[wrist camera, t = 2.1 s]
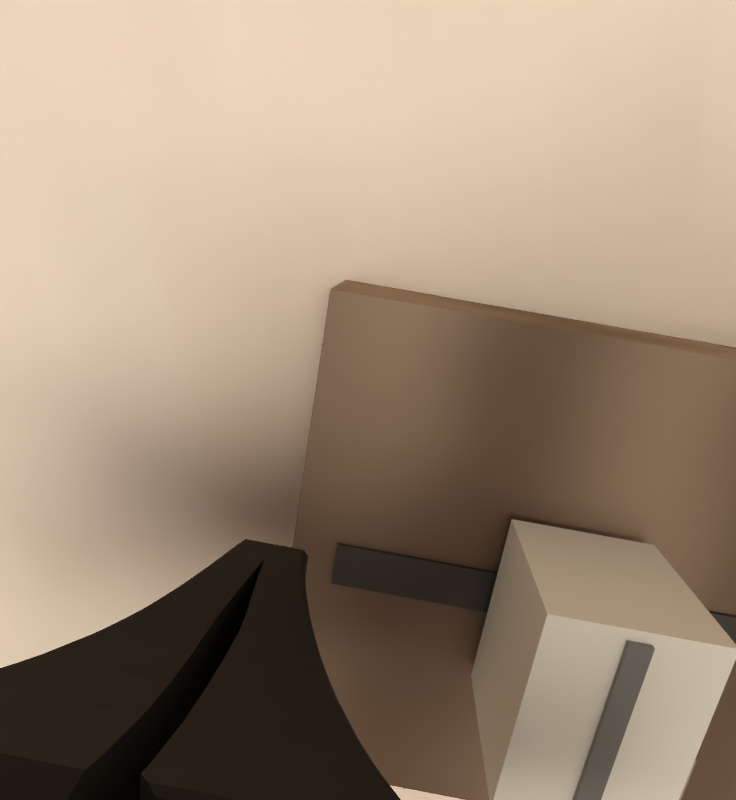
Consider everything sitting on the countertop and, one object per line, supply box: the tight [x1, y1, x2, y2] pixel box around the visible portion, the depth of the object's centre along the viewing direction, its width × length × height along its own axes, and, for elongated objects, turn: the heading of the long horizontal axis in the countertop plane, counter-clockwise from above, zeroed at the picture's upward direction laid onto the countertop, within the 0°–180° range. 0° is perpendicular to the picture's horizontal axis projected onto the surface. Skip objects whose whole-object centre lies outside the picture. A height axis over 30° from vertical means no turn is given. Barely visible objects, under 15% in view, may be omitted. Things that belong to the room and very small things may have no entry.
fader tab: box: [471, 519, 736, 800], centre depth 11 cm, size 3×4×3 cm
